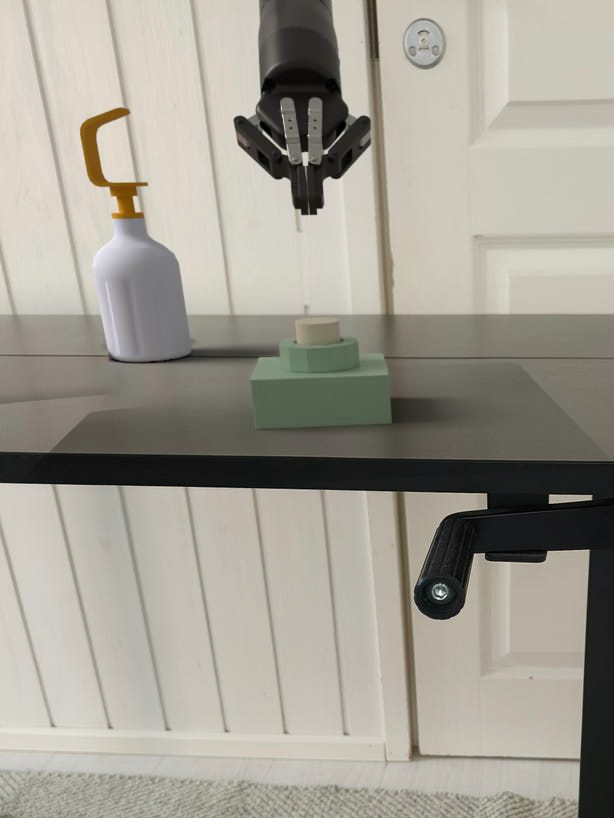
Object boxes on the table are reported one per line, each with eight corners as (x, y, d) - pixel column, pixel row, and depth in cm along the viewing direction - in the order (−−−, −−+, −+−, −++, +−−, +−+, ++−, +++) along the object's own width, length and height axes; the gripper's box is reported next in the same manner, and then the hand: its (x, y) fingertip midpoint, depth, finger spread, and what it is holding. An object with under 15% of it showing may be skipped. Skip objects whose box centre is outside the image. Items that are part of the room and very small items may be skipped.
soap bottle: (183, 362, 101) (143, 105, 90) (99, 364, 100) (48, 105, 89) (199, 348, 109) (165, 110, 98) (122, 350, 108) (78, 111, 97)
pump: (296, 350, 75) (293, 324, 74) (298, 343, 78) (295, 318, 77) (341, 349, 75) (339, 322, 74) (340, 341, 78) (338, 316, 77)
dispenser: (255, 430, 74) (246, 353, 71) (264, 402, 83) (255, 333, 80) (391, 424, 75) (387, 348, 72) (385, 397, 84) (381, 329, 81)
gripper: (221, 23, 82) (225, 176, 77) (368, 24, 84) (383, 174, 79) (234, 96, 89) (239, 240, 84) (370, 96, 91) (383, 237, 86)
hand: (308, 208), depth 81 cm, fingers closed
